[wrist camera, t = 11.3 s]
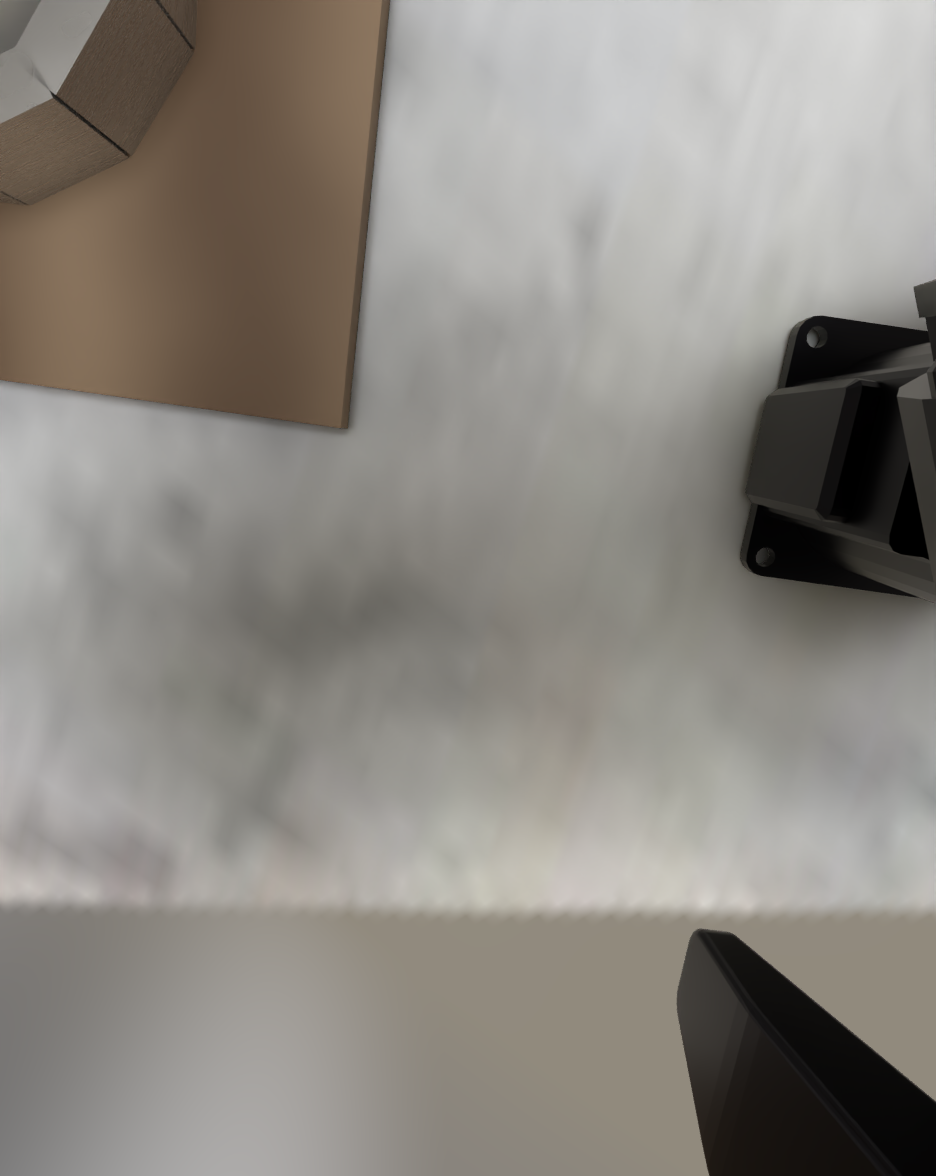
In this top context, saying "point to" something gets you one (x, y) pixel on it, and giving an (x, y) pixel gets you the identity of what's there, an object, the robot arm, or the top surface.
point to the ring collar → (86, 88)
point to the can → (14, 21)
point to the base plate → (216, 228)
